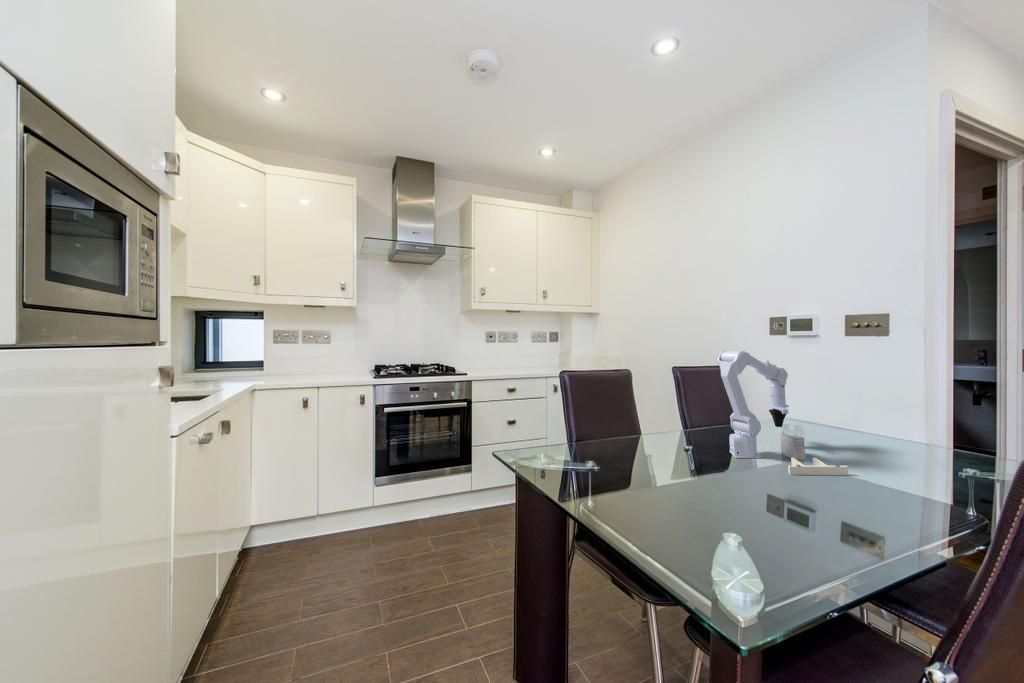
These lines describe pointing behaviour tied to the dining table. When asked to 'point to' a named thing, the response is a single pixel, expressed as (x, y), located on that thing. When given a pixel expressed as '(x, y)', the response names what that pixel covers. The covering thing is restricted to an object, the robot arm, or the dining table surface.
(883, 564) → the dining table surface
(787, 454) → the medicine box
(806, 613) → the dining table surface
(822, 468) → the dock
